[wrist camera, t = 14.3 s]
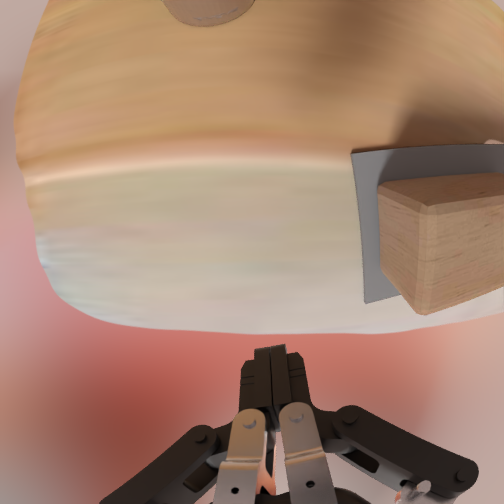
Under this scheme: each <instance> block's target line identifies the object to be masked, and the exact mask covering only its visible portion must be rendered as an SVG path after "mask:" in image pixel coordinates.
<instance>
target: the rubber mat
mask: <svg viewBox="0 0 504 504" xmlns="http://www.w3.org/2000/svg"><path fill="white" fill-rule="evenodd" d="M351 159H352V165H353V172H354V179H355V186H356V193H357V201H358V210H359V220H360V230H361V242H362V257H363V276H364V302H365V304H368V303H372V302H375V301H379V300H383V299H387V298H391V297H394V296H398V295H401V294H400V292H399V291H398V290H397V289H396V288H395V286H394V285H393V284H392V283H391V282H390V281H389V279H388V278H387V277H386V276H385V275H384V274H383V272H382V270H381V268H380V232H379V212H378V198H377V189H378V186H379V185H381V184H382V183H384V182H387V181H396V180H405V179H415V178H425V177H436V176H447V175H460V174H475V173H494V172H498V173H502V174H504V144H460V145H436V146H420V147H408V148H396V149H386V150H377V151H368V152H360V153H353V154H351Z"/></svg>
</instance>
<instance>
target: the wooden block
mask: <svg viewBox="0 0 504 504" xmlns="http://www.w3.org/2000/svg"><path fill="white" fill-rule="evenodd" d="M377 198H378V212H379V232H380V268H381V270H382V272H383V274H384V275H385V276H386V277H387V278H388V279H389V281H390V282H391V283H392V284H393V285H394V286H395V288H396V289H397V290H398V291H399V292H400V294H401V295H402V296H403V297H404V299H405V300H406V301H407V302H408V303H409V305H410V306H411V307H412V308H413V310H414V311H415V312H416V313H418V314H420V315H428V314H431V313H434V312H437V311H440V310H443V309H446V308H449V307H452V306H455V305H457V304H460V303H463V302H466V301H468V300H471V299H474V298H476V297H479V296H481V295H484V294H486V293H489V292H491V291H493V290H496V289H498V288H501V287H503V286H504V174H502V173H498V172H494V173H475V174H460V175H447V176H436V177H425V178H415V179H405V180H396V181H387V182H384V183H382V184H381V185H379V186H378V189H377Z"/></svg>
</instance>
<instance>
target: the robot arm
mask: <svg viewBox="0 0 504 504" xmlns="http://www.w3.org/2000/svg"><path fill="white" fill-rule="evenodd" d="M162 2H163V3H164V4H165V6H166V7H167V8H168V10H169V11H170V12H171V14H172V15H173V16H174V17H175V18H176V19H178V20H179V21H181V22H183V23H186V24H189V25H194V26H213V25H219V24H223V23H226V22H229V21H231V20H233V19H235V18H237V17H239V16H240V15H242V14H243V13H245V12H246V11H247V10H248V9H249V8H250V7H251V5H252V4H253V2H254V0H162ZM254 352H255V353H254V360H248V361H246V362H245V363H244V365H243V367H242V369H241V380H240V385H241V386H240V398H239V412H238V414H237V415H236V416H235V417H234V419H233V421H232V422H230V423H229V424H227V425H224V426H221V427H218V428H215V429H213V428H211V427H210V426H207V425H198V426H195V427H193V428H191V429H190V430H189V431H188V432H187V433H186V434H184V435H183V436H182V437H181V438H180V439H179V440H178V441H176V442H175V443H174V444H173V445H172V446H171V447H170V448H168V449H167V450H166V451H165V452H164V453H162V454H161V455H160V456H159V457H158V458H157V459H155V460H154V461H153V462H152V463H150V464H149V465H148V466H147V467H145V468H144V469H143V470H142V471H140V472H139V473H138V474H136V475H135V476H134V477H133V478H131V479H130V480H129V481H127V482H126V483H125V484H123V485H122V486H121V487H119V488H118V489H117V490H115V491H114V492H112V493H111V494H110V495H108V496H107V497H105V498H104V499H103V500H101V502H100V503H99V504H194V503H195V502H196V501H197V500H198V499H199V498H201V497H202V496H203V495H204V494H205V493H206V492H207V491H208V490H209V489H210V488H212V487H213V486H214V485H215V484H216V489H215V494H214V499H213V502H211V503H210V504H371V503H369V502H368V501H366V500H365V499H363V498H362V497H360V496H359V495H357V494H356V493H354V492H352V491H349V490H346V489H343V488H337V487H334V486H333V483H332V479H331V475H330V471H329V467H328V463H327V460H326V456H325V453H335V454H336V455H337V456H339V457H340V458H341V459H343V460H345V461H346V462H348V463H349V464H351V465H352V466H354V467H356V468H357V469H359V470H360V471H362V472H364V473H365V474H367V475H369V476H370V477H372V478H374V479H375V480H377V481H379V482H381V483H382V484H385V485H386V486H388V487H390V488H392V489H394V490H395V491H397V492H398V493H397V495H396V497H395V504H453V503H454V501H455V500H456V498H457V497H458V496H459V495H460V494H462V493H463V492H465V491H466V490H468V489H469V488H470V487H472V486H473V485H474V483H475V482H476V480H477V478H478V474H479V470H478V466H477V464H476V463H475V462H474V461H472V460H470V459H467V458H464V457H462V456H460V455H457V454H455V453H453V452H450V451H448V450H445V449H443V448H441V447H439V446H436V445H434V444H432V443H430V442H427V441H425V440H423V439H421V438H419V437H417V436H415V435H413V434H410V433H409V432H406V431H405V430H403V429H401V428H398V427H397V426H395V425H393V424H391V423H389V422H387V421H385V420H383V419H381V418H379V417H377V416H375V415H374V414H372V413H370V412H368V411H366V410H364V409H363V408H361V407H358V406H355V405H349V406H345V407H342V408H340V409H339V410H338V411H336V412H332V411H323V410H320V409H318V408H316V407H315V406H314V405H313V404H312V402H311V399H310V394H309V388H308V382H307V378H306V371H305V366H304V361H303V358H302V357H301V356H300V355H299V353H298V352H295V353H290V354H287V349H286V345H285V344H281V345H276V346H271V347H264V348H259V349H255V351H254ZM280 431H281V434H282V440H283V446H284V453H285V467H286V473H287V480H288V486H289V492H286V493H283V494H280V495H276V485H275V463H276V436H275V432H280Z"/></svg>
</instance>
